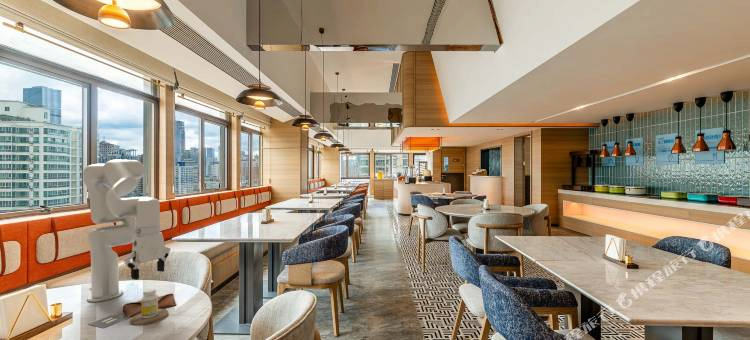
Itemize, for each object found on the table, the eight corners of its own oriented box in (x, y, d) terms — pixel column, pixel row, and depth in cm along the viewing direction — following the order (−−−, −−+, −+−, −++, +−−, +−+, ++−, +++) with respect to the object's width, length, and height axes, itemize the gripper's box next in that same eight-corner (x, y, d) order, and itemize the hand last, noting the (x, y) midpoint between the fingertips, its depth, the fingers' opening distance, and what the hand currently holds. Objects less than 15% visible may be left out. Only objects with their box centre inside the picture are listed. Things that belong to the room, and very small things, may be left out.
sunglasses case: (125, 319, 124) (123, 301, 127) (123, 323, 129) (121, 306, 131) (178, 305, 137) (176, 289, 139) (175, 309, 141) (173, 294, 144)
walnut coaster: (122, 322, 122) (122, 320, 122) (154, 309, 133) (154, 307, 133) (144, 327, 118) (144, 325, 118) (175, 313, 129) (175, 311, 129)
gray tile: (87, 324, 120) (87, 323, 120) (114, 314, 129) (114, 313, 129) (103, 328, 117) (103, 327, 117) (129, 317, 126) (129, 317, 126)
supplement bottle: (153, 318, 123) (152, 292, 123) (138, 318, 123) (137, 293, 123) (161, 311, 128) (160, 287, 128) (146, 312, 128) (146, 288, 128)
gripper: (130, 236, 116) (131, 283, 116) (176, 227, 132) (176, 269, 132) (117, 234, 119) (117, 281, 119) (163, 226, 135) (163, 267, 135)
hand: (148, 275), depth 126 cm, fingers open, 9 cm apart
